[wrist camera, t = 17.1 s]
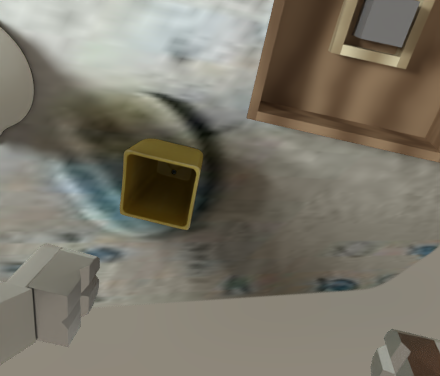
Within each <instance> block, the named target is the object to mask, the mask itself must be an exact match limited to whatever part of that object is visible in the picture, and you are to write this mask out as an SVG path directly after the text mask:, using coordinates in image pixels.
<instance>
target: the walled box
mask: <svg viewBox="0 0 440 376" xmlns="http://www.w3.org/2000/svg"><path fill="white" fill-rule="evenodd" d="M363 1H364V0H274V4H273V8H272V12H271V16H270V21H269V25H268V29H267V33H266V38H265V42H264V46H263V50H262V55H261V59H260V63H259V67H258V72H257V76H256V80H255V84H254V89H253V93H252V97H251V101H250V106H249V110H248V114H247V118H248V119H252V120H257V121H261V122H265V123H270V124H274V125H278V126H283V127H287V128H291V129H296V130H300V131H304V132H309V133H313V134H318V135H322V136H326V137H331V138H335V139H339V140H344V141H348V142H352V143H357V144H361V145H365V146H370V147H374V148H378V149H383V150H387V151H392V152H396V153H400V154H405V155H409V156H413V157H418V158H422V159H426V160H431V161H435V162H439V163H440V0H415V1H420V3H419V6H418V8H417V11H416V13H415V16H414V18H413V21H412V23H411V26H410V28H409V30H408V33H407V35H406V38H405V40H404V43H403V45H402V48H401V47H397V46H392V45H388V44H383V43H379V42H374V41H370V40H365V39H361V38H358V37H356V36H354V35H352V33H353V30H354V27H355V25H356V22H357V19H358V16H359V13H360V10H361V7H362V4H363Z"/></svg>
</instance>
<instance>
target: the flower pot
mask: <svg viewBox="0 0 440 376" xmlns="http://www.w3.org/2000/svg"><path fill="white" fill-rule="evenodd" d="M202 162H203V154H202V152H201V151H200V150H198V149H195V148H191V147H187V146H183V145H179V144H175V143H170V142H166V141H162V140H158V139H144V140H142V141H140V142H138V143H137V144H135V145H134V146H132V147H130V148H129V149H127V150H126V151H125V152H124V160H123V181H122V192H121V202H120V213H121V214H122V215H125V216H129V217H134V218H138V219H142V220H147V221H150V222H155V223H159V224H163V225H167V226H170V227H175V228H178V229H184V230H188V229H189V227H190V223H191V218H192V213H193V208H194V202H195V197H196V192H197V187H198V182H199V177H200V173H201V167H202ZM173 170H175V171H176V173H175V174H174V173H172V171H173Z"/></svg>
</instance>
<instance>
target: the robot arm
mask: <svg viewBox="0 0 440 376" xmlns="http://www.w3.org/2000/svg"><path fill="white" fill-rule="evenodd" d="M33 95H34V85H33V78H32V74H31V70H30V67H29V65H28V62H27V60H26V58H25V56H24V54H23V53H22V51H21V49H20V48H19V47H18V45H17V44H16V43H15V41H14V40H13V39H12V38H11V37H10V36H9V35H8V34H7V33H6V32H5V31H4V30H3V29H2V28H1V27H0V135H1V134H2V132H3V131H4V130H5V129H6V128H8V127H10V126H13V125H15V124H17V123H18V122H20V121H21V120H22V119H23V118H24V117H25V116H26V115H27V113H28V112H29V110H30V108H31V105H32V101H33ZM99 268H100V259H99V258H98V257H96V256H93V255H89V254H85V253H82V252H78V251H74V250H71V249H67V248H61V247H58V246H54V245H51V244H47V243H46V244H44V245H42V246H40V247H39V248H38V249H37V250H36V251H35V252H34V254H33V255H32V256H31V257H30V258H29V259H28V260H27V261H26V262H25V263H24V264H23V265H22V266H21V267H20V268H19V269H18V270H17V271H16V272H15V273H14V274H13V275H12V276H11V277H10V278H9V279H8V281H7V282H2V281H0V365H1V364H3V363H5V362H6V361H8V360H9V359H11V358H12V357H14V356H15V355H17V354H18V353H20V352H21V351H23V350H24V349H26V348H27V347H29V346H31V345H32V344H34V343H35V342H36V340H39V341H43V342H48V343H52V344H56V345H61V346H65V347H68V346H69V345H70V343H71V341H72V340H73V338H74V336H75V335H76V333H77V331H78V330H79V328H80V325H81V317H82V316H84V315H86V314H88V313H89V311H90V310H91V308H92V306H93V304H94V301H95V299H96V296H97V293H98V288H99V279H98V278H97V276H96V275H95V274H96V273H97V271H98V270H99ZM384 340H385V343H386V345H385V346H383V347H380V348H379V349H377V350H376V352H375V354H374V356H373V359H372V364H371V376H440V340H438V339H433V338H428V337H424V336H419V335H416V334H411V333H407V332H403V331H398V330H394V329H391V330H390V331H388V332H387V334H386V335H385V337H384Z"/></svg>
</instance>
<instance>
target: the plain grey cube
mask: <svg viewBox="0 0 440 376" xmlns="http://www.w3.org/2000/svg"><path fill="white" fill-rule="evenodd" d="M419 3H420V1H415V0H364V1H363V4H362V7H361V10H360V13H359V16H358V19H357V22H356V25H355V27H354V30H353V33H352V35H354V36H356V37H358V38H361V39H365V40H370V41H374V42H379V43H383V44H388V45H392V46H397V47H401V48H402V45H403V43H404V40H405V38H406V35H407V33H408V30H409V28H410V26H411V23H412V21H413V18H414V16H415V13H416V11H417V8H418V6H419Z"/></svg>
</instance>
